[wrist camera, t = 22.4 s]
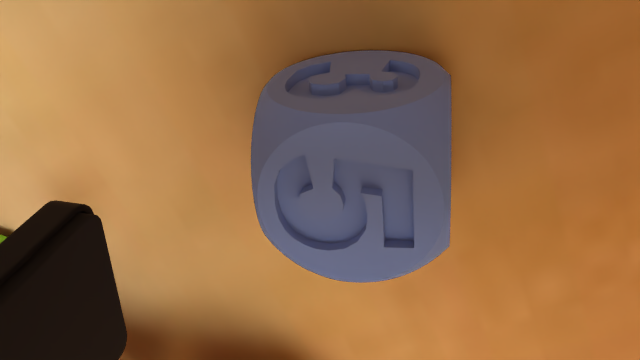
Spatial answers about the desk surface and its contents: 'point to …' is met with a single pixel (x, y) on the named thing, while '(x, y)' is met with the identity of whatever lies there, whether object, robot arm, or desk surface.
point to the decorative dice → (355, 163)
